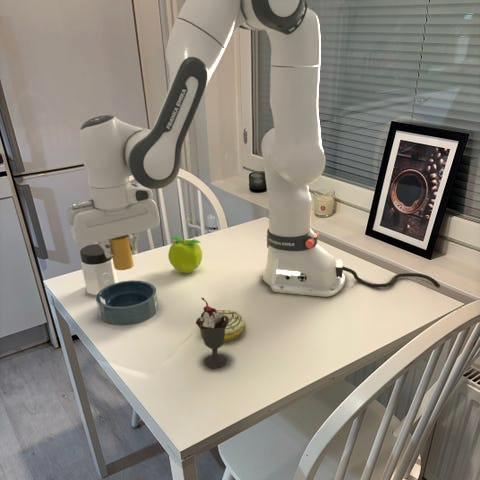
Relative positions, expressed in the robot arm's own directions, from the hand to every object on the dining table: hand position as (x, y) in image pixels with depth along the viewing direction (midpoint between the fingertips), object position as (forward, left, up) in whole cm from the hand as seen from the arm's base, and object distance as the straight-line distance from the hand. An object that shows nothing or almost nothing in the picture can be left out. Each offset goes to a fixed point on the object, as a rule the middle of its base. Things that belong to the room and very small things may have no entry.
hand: (121, 253), depth 115 cm
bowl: (0, 0, -16) cm, 16 cm away
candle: (0, 0, -3) cm, 3 cm away
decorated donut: (-26, -1, -16) cm, 30 cm away
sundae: (-30, +10, -16) cm, 35 cm away
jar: (+14, -7, -16) cm, 23 cm away
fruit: (-1, -26, -16) cm, 30 cm away
